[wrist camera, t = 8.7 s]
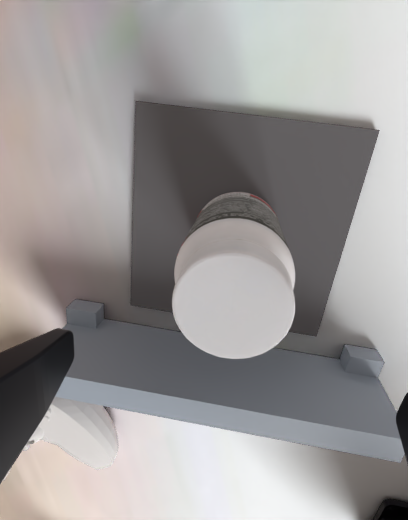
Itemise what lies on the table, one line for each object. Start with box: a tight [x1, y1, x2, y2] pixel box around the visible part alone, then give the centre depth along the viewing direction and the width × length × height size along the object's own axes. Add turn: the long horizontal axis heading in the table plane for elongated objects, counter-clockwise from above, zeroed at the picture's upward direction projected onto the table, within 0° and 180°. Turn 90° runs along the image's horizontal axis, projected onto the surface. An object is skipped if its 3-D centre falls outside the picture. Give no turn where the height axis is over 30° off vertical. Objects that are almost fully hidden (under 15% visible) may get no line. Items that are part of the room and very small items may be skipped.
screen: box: [55, 299, 405, 463], centre depth 19 cm, size 20×4×6 cm, turn 84°
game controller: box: [3, 397, 118, 481], centre depth 24 cm, size 14×4×10 cm
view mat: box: [131, 101, 379, 336], centre depth 18 cm, size 12×12×1 cm
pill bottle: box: [172, 192, 295, 359], centre depth 14 cm, size 5×5×8 cm
